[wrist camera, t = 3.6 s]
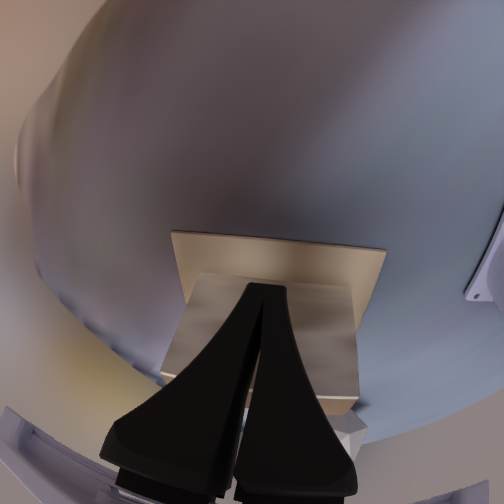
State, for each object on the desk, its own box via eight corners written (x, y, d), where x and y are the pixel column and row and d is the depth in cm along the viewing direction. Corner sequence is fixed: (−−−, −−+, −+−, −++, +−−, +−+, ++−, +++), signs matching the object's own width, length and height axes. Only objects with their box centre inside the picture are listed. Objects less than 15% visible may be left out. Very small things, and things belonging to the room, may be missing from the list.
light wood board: (386, 249, 14) (386, 252, 14) (330, 384, 24) (330, 386, 24) (171, 230, 16) (170, 232, 16) (205, 370, 26) (205, 372, 25)
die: (312, 418, 32) (354, 468, 24) (258, 435, 27) (302, 498, 20) (342, 376, 30) (395, 431, 22) (286, 392, 25) (345, 465, 17)
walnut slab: (350, 286, 16) (359, 396, 11) (341, 314, 18) (344, 415, 12) (200, 272, 17) (159, 371, 12) (205, 299, 19) (172, 393, 13)
